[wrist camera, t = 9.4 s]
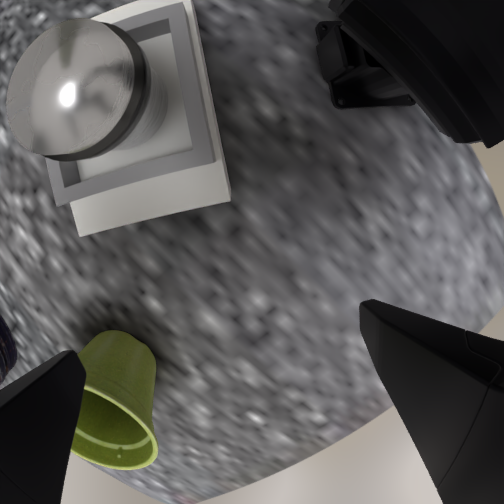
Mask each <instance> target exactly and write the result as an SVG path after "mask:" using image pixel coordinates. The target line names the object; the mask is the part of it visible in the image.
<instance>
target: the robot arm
mask: <svg viewBox="0 0 504 504" xmlns="http://www.w3.org/2000/svg"><path fill="white" fill-rule="evenodd" d="M328 8H330V9H331V10H332V11H334V12H335V13H337V18H338V19H340V20H341V21H322V22H319V23H318V24H317V26H316V33H317V36H318V40H319V44H318V45H317V52H318V56H319V60H320V64H321V68H322V73H323V77H324V80H325V81H327V82H329V87H330V91H331V96H332V101H333V105H334V106H335V107H336V108H337V109H352V108H367V107H387V106H412V105H415V104H416V103H417V104H418V105H419V106H420V107H421V109H422V110H423V111H424V112H425V113H426V115H427V116H428V117H429V118H430V120H431V121H432V122H433V123H434V125H435V126H436V127H437V128H438V130H439V131H440V132H442V133H443V134H445V135H447V136H449V137H451V138H452V139H453V141H454V142H455V143H467V144H472V143H477V142H483V143H484V145H485V146H486V147H487V148H491V147H493V146H494V145H496V144H498V143H499V142H501V141H503V140H504V0H330V3H329V6H328ZM321 26H323V27H325V28H326V31H324V30H322V29H321ZM408 96H409V97H410V98H411V102H410V101H409V100H408ZM338 99H342V100H343V105H340V104H339V103H338ZM359 312H360V331H361V334H362V337H363V339H364V341H365V344H366V346H367V349H368V351H369V354H370V356H371V359H372V361H373V364H374V366H375V369H376V371H377V373H378V375H379V377H380V379H381V381H382V383H383V385H384V387H385V389H386V390H387V392H388V394H389V396H390V398H391V400H392V402H393V403H394V405H395V407H396V409H397V411H398V413H399V415H400V417H401V419H402V420H403V422H404V424H405V426H406V428H407V430H408V432H409V434H410V436H411V438H412V440H413V442H414V444H415V446H416V448H417V450H418V452H419V454H420V456H421V458H422V460H423V462H424V464H425V466H426V468H427V470H428V472H429V474H430V476H431V478H432V480H433V483H434V485H435V487H436V488H437V491H438V494H439V496H440V498H441V500H442V502H443V504H504V341H501V340H497V339H493V338H490V337H487V336H483V335H480V334H477V333H474V332H471V331H468V330H467V331H465V329H462V328H459V327H456V326H453V325H450V324H447V323H444V322H441V321H438V320H435V319H432V318H429V317H426V316H423V315H420V314H417V313H414V312H411V311H408V310H405V309H402V308H399V307H396V306H393V305H390V304H387V303H384V302H381V301H378V300H375V299H370V300H367V301H363V302H361V303H360V306H359ZM85 382H86V370H85V368H84V366H83V364H82V362H81V361H80V359H79V357H78V355H77V353H76V352H75V351H73V350H66V351H62V352H61V353H59V354H57V355H56V356H54V357H52V358H51V359H49V360H48V361H46V362H44V363H43V364H41V365H40V366H38V367H36V368H35V369H33V370H31V371H30V372H28V373H27V374H25V375H23V376H22V377H20V378H19V379H17V380H15V381H14V382H12V383H11V384H9V385H7V386H6V387H4V388H3V389H1V390H0V504H60V503H61V497H62V491H63V486H64V480H65V475H66V470H67V465H68V461H69V455H70V451H71V447H72V443H73V439H74V434H75V430H76V426H77V423H78V419H79V415H80V410H81V404H82V398H83V392H84V387H85Z"/></svg>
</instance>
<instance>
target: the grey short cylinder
mask: <svg viewBox="0 0 504 504" xmlns="http://www.w3.org/2000/svg"><path fill="white" fill-rule="evenodd" d="M6 105H7V117H8V121H9V125H10V128H11V130H12V132H13V134H14V136H15V138H16V139H17V140H18V141H19V143H20V144H21V145H22V146H24V147H25V148H26V149H28V150H29V151H31V152H34V153H37V154H41V155H43V156H45V157H46V158H49V159H52V160H55V161H62V162H69V161H77V160H85V159H92V158H95V157H99V156H101V155H103V154H106V153H107V152H109V151H119V150H128V149H132V148H135V147H138V146H140V145H141V144H143V143H145V142H146V141H148V140H149V139H150V138H151V137H152V136H153V135H154V134H155V133H156V132H157V131H158V129H159V128H160V126H161V124H162V123H163V121H164V118H165V116H166V113H167V109H168V91H167V87H166V85H165V82H164V81H163V79H162V77H161V76H160V75H159V74H158V73H157V72H156V71H155V70H154V69H153V68H152V67H151V66H150V65H149V61H148V59H147V57H146V54H145V53H144V51H143V49H142V48H141V47H140V46H139V45H138V43H137V42H136V41H135V40H134V39H133V38H132V37H131V36H130V35H129V34H128V33H126V32H125V31H124V30H123V29H121V28H119V27H117V26H116V25H113V24H110V23H105V22H99V21H96V20H93V19H87V18H77V19H71V20H67V21H64V22H61V23H59V24H57V25H55V26H53V27H51V28H49V29H48V30H46V31H45V32H44V33H42V34H41V35H40V36H39V37H38V38H36V39H35V40H34V41H33V42H32V43H31V45H30V46H29V47H28V48H27V49H26V51H25V52H24V53H23V55H22V56H21V58H20V60H19V61H18V63H17V65H16V67H15V69H14V71H13V74H12V77H11V80H10V83H9V87H8V92H7V103H6Z"/></svg>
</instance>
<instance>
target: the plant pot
mask: <svg viewBox="0 0 504 504" xmlns="http://www.w3.org/2000/svg"><path fill="white" fill-rule="evenodd" d="M77 355H78V357H79V359H80V361H81V362H82V364H83V366H84V368H85V370H86V382H85V387H84V392H83V398H82V404H81V410H80V415H79V419H78V423H77V426H76V430H75V434H74V439H73V443H72V447H71V452H73V453H74V454H76V455H77V456H80V457H81V458H83V459H85V460H88V461H90V462H92V463H95V464H98V465H101V466H105V467H108V468H113V469H120V470H134V469H139V468H143V467H145V466H148V465H150V464H151V463H152V462H153V461H154V460H155V459H156V457H157V455H158V441H157V438H156V436H155V434H154V426H153V422H152V408H153V396H154V386H155V377H156V361H155V358H154V356H153V354H152V352H151V350H150V349H149V348H148V347H147V346H146V345H145V344H144V343H141V342H140V341H138V340H136V339H135V338H134V337H133V336H131V335H130V334H129V333H126V332H123V331H118V330H108V331H104V332H101V333H99V334H98V335H97V336H95V337H94V338H93V339H92V340H91V341H90V342H89V343H88V344H87V345H86V346H85V347H84V349H82V350H81V351H80V352H79V353H78V354H77Z"/></svg>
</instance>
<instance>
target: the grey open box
mask: <svg viewBox="0 0 504 504" xmlns="http://www.w3.org/2000/svg"><path fill="white" fill-rule="evenodd" d="M91 19H93V20H96V21H99V22H105V23H110V24H113V25H116V26H117V27H119V28H121V29H123V30H124V31H125V32H126V33H128V34H129V35H130V36H131V37H132V38H133V39H134V40H135V41H136V42H137V43H138V45H139V46H140V47H141V48H142V49H143V51H144V53H145V54H146V57H147V59H148V61H149V65H150V66H151V67H152V68H153V69H154V70H155V71H156V72H157V73H158V74H159V75H160V76H161V77H162V79H163V81H164V82H165V85H166V87H167V91H168V109H167V113H166V116H165V118H164V121H163V123H162V124H161V126H160V128H159V129H158V131H157V132H156V133H155V134H154V135H153V136H152V137H151V138H150V139H149V140H148V141H146V142H145V143H143V144H141V145H140V146H138V147H135V148H132V149H128V150H119V151H109V152H107V153H106V154H103V155H101V156H99V157H95V158H92V159H85V160H77V161H69V162H62V161H55V160H52V159H49V158H46V157H45V158H46V163H47V168H48V173H49V177H50V182H51V186H52V190H53V194H54V198H55V202H56V206H57V207H58V206H61V205H63V204H66V203H69V202H70V205H71V208H72V212H73V216H74V219H75V223H76V226H77V230H78V233H79V236H80V237H82V236H85V235H89V234H93V233H97V232H100V231H104V230H108V229H112V228H116V227H120V226H123V225H127V224H131V223H135V222H140V221H144V220H148V219H152V218H156V217H160V216H165V215H169V214H173V213H178V212H182V211H186V210H191V209H196V208H200V207H205V206H209V205H214V204H219V203H224V202H229V201H231V187H230V182H229V177H228V173H227V168H226V163H225V158H224V153H223V148H222V143H221V138H220V133H219V128H218V123H217V118H216V113H215V108H214V103H213V98H212V93H211V88H210V83H209V78H208V73H207V68H206V63H205V58H204V53H203V48H202V43H201V37H200V32H199V27H198V22H197V17H196V12H195V9H194V5H193V2H192V0H138V1H135V2H132V3H129V4H126V5H124V6H121V7H118V8H115V9H113V10H110V11H108V12H105V13H103V14H100V15H98V16H95V17H93V18H91Z"/></svg>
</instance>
